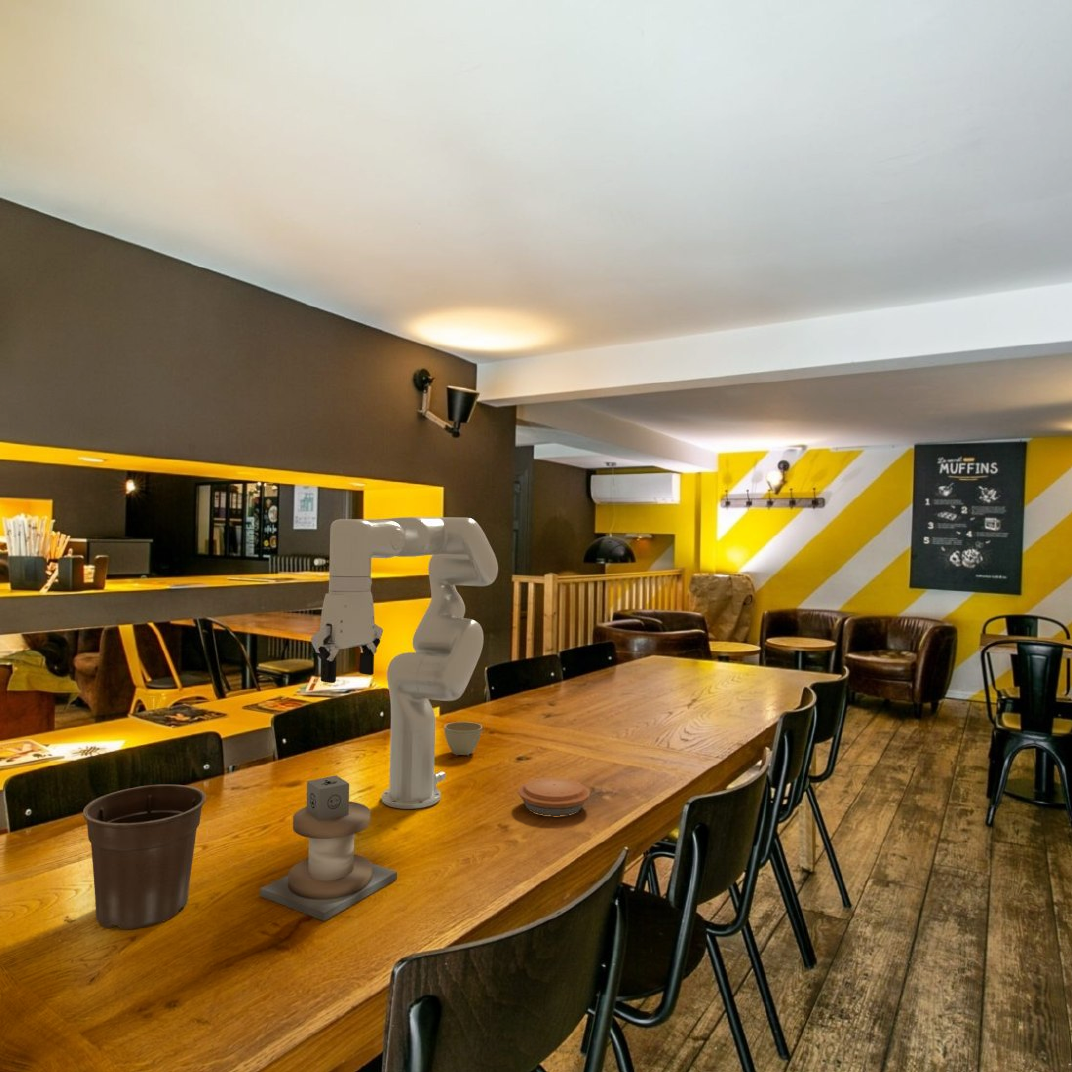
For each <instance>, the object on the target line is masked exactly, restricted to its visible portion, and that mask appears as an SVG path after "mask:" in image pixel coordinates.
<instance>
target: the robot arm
mask: <svg viewBox="0 0 1072 1072" xmlns="http://www.w3.org/2000/svg"><path fill="white" fill-rule="evenodd" d="M329 535H330V536H329V570H328V571H329V577H328V580H329V581H328V584H329V585H328V593H325V595H324V598H323V602H322V603H323V604H322V607H321V608H322V609H321V614H320V615H321V616H320V624H319V625H320V626H319V631H317V632H316V633H315V634H313V635H312V636H311V638H310V642H311V645H312V647H313V651H314V653H315V654H316V655H317V658H318V660H319V661H320V681H321V682H323V683H328V684H335V683H336V681H337V660H334V659H335V658H336V656H337V654H338V653H339V651H340V650H343V649H344V650H345V649H351V648H356V647H357V648H358V647H359V648H360V650H361V651H362V652H359V659H358V660H359V663H358V664H359V666H358V673H359V674H360V675H366V676H372V675H373V676H374V672H375V671H374V669H375V654H376V653H377V651H378V646H379V645H380V643H381V638H382V635H383V632H384V629H383V628H382V627H381V626H379V625H377V624H376V623H375V607H374V598H373V594H372V591H371V590H372V588H371V587H372V584H373V580H372V559H390V558H394V557H397V558H401V557H402V558H403V557H405V558H409V557H411V558H413V557H414V558H415V557H421V556H423V557H424V556H431V557H430V559H429V562H428V569H427V570H428V577H429V578H428V579H429V584H430V585H429V586H430V593H431V599H430V603H429V604H428V606H427V609H426V610H425V612H424V614H423V615H422V618H421V619H420V622H419V623H418V626H416V627H417V628H416V629H415V632H414V634H413V637H412V648H413V650H414V651H415V652H414V651H413V652H411V651H409V652H402V653H400V654H397V655H396V656H394V657H393V658H392V659H391V660H390V662H389V664H388V667H387V671H386V678H387V679H386V680H387V685H388V691H389V699H390V700H389V701H390V742H389V743H390V744H389V745H390V746H389V748H390V749H389V787H388V789H386V790H384V791H383V792H382V794H381V802H382V803H383V804H384V805H386V806H388V807H391V808H393V809H394V808H395V809H404V810H412V809H413V810H415V809H423V808H427V807H431V806H433V805H436V804H437V803H438V802H440V800H441V798H442V796H441V795H442V793H441V791H440V790H439V789H438V788H437V784H438V783H439V782H442V781H444V780H445V779H446V777H447V774H446V772H445V771H443V770H442V771H441V770H440V771H438V772H437V773H436V772H435V755H436V753H435V752H436V751H435V748H436V715H435V711H434V709H433V706H432V703H431V702H430V700H432V701H433V700H434V701H443V702H452V701H456V700H458V699H460V698H461V696H462V695H463V694H464V692H465V690H466V688H467V686H468V684H469V682H470V680H471V678H472V675H473V673H474V671H475V668H476V666H477V664H478V663H479V662H478V661H479V659H480V657H481V654H482V652H483V651H482V650H483V648H484V647H483V646H484V631H483V628H482V626H481V624H480V623H479V622H478V621H476V620H474V619H471V618H465V617H464V616H465V613H466V605H465V603H464V600H463V598H462V596H461V595H460V593H459V592H458V591H457V588H456V586H469V587H471V586H472V587H486V586H490V585H491V584H493V583H494V582H495V581H496V579H497V576H498V573H499V565H498V560H497V557H496V554H495V552H494V550H493V548H492V546H491V544H490V542H489V540H488V538H487V536H486V534H485V532H484V531H483V529H482V527H481V526H480V525H479V523H478V522H477V521H476V520H474V519H473V518H470V517H451V516H450V517H449V516H447V517H444V516H442V517H441V516H439V517H437V516H435V517H434V516H433V517H431V516H429V517H428V516H416V517H415V516H407V517H406V516H404V517H392V518H390V517H389V518H378V519H377V518H375V519H374V518H373V519H363V518H359V519H358V518H356V519H351V518H348V519H346V518H341V519H340V518H339V519H336V520H334V521H332V523H331V524H330V531H329Z"/></svg>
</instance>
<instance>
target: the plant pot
mask: <svg viewBox="0 0 1072 1072" xmlns="http://www.w3.org/2000/svg"><path fill="white" fill-rule="evenodd" d="M206 800H207V795H206V793H205V792H204V791H202V790H201V789H199V788H197V787H194V786H189V785H182V784H151V785H143V786H142V785H140V786H137V787H132V788H126V789H121V790H118V791H115V792H111V793H108V794H105V795H103V796H100V797H97V798H96V799H94V800H92V801H90V802H88V804H87V805H86V806H85V807H84V808H83V811H82V813H83V818H84V820H85V821H86V826H87V837H88V838H87V839H88V841H89V843H90V845H91V846H90V848H91V859H92V870H93V871H92V873H93V886H94V902H95V918H96V920H97V922H98V923H99V924H100V925H101V926H103V927H105V928H109V929H110V928H113V927H115V926H116V927H119V928H121V929H122V930H133V929H139V928H148V927H150V926H154V925H157V924H160V923H162V922H164V921H168V920H170V919H172V918H173V917H175V916H177V914H178V913H179V911H180V910H181V909H185V908H186V906H187V905H188V900H189V889H190V883H191V882H190V881H191V874H192V865H193V859H194V854H195V853H194V851H195V845H196V844H195V843H196V837H197V829H198V828H199V826H200V823H201V816H202V809H203V805H204V804H205V803H206Z"/></svg>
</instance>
